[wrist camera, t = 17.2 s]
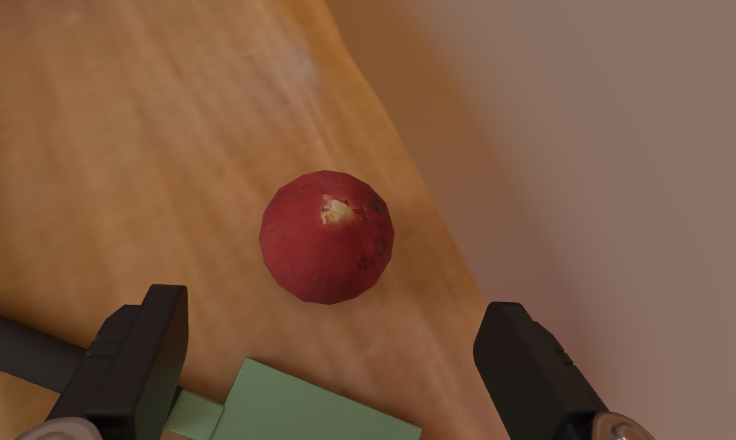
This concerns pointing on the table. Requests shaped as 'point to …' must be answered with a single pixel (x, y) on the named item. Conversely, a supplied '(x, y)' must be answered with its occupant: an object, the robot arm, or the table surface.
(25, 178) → the table surface
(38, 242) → the table surface
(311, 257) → the onion
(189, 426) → the spatula
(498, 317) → the robot arm
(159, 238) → the table surface
